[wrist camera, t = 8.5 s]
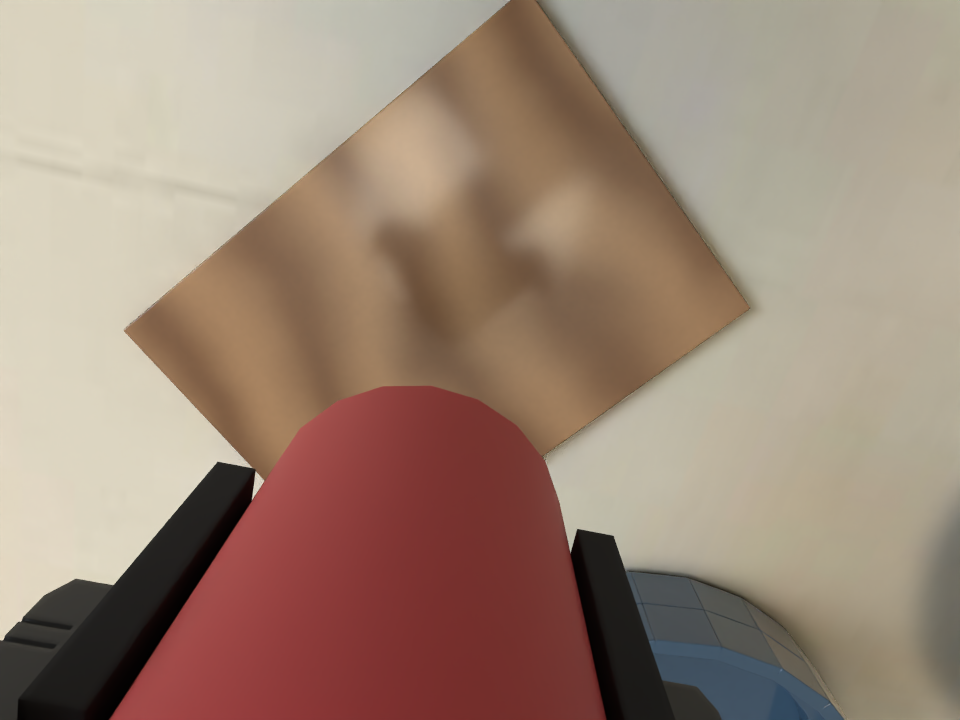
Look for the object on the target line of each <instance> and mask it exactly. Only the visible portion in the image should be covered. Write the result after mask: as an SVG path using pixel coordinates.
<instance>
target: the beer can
mask: <svg viewBox="0 0 960 720" xmlns="http://www.w3.org/2000/svg"><path fill="white" fill-rule="evenodd" d="M109 720H607V719H606V714H605V710H604V705H603V700H602V696H601V691H600V687H599V682H598V678H597V673H596V668H595V664H594V659H593V655H592V650H591V646H590V641H589V636H588V632H587V627H586V623H585V618H584V613H583V609H582V604H581V600H580V595H579V591H578V586H577V581H576V577H575V572H574V568H573V563H572V559H571V554H570V549H569V545H568V540H567V536H566V531H565V526H564V522H563V517H562V513H561V508H560V504H559V500H558V497H557V494H556V491H555V488H554V485H553V483H552V480H551V477H550V474H549V471H548V468H547V465H546V462H545V460H544V459H543V458H542V457H541V455H540V454H539V453H538V451H537V450H536V449H535V448H534V446H533V445H532V444H531V442H530V441H529V440H528V439H527V437H526V436H525V435H524V434H523V432H522V431H521V430H520V428H519V427H518V426H517V425H516V424H514V423H513V422H511V421H510V420H508V419H507V418H505V417H504V416H502V415H501V414H499V413H498V412H496V411H495V410H493V409H492V408H490V407H489V406H487V405H486V404H484V403H483V402H481V401H480V400H478V399H475V398H472V397H468V396H465V395H461V394H458V393H455V392H451V391H448V390H444V389H441V388H438V387H434V386H382V387H379V388H376V389H373V390H370V391H367V392H363V393H360V394H357V395H354V396H351V397H348V398H345V399H342V400H339V401H337V402H335V403H334V404H333V405H331V406H330V407H329V408H327V409H326V410H324V411H323V412H322V413H320V414H319V415H318V416H316V417H315V418H314V419H312V420H311V421H309V422H308V423H307V424H305V425H304V426H303V427H301V428H300V429H299V431H298V432H297V434H296V435H295V437H294V438H293V440H292V441H291V443H290V444H289V446H288V447H287V448H286V450H285V451H284V453H283V454H282V456H281V457H280V459H279V460H278V462H277V463H276V465H275V466H274V468H273V469H272V471H271V472H270V474H269V475H268V477H267V478H266V480H265V481H264V483H263V484H262V486H261V488H260V489H259V491H258V492H257V494H256V495H255V497H254V498H253V500H252V501H251V503H250V504H249V506H248V507H247V509H246V510H245V512H244V514H243V515H242V517H241V518H240V520H239V521H238V523H237V524H236V526H235V527H234V529H233V530H232V532H231V533H230V535H229V536H228V538H227V540H226V541H225V543H224V544H223V546H222V547H221V549H220V550H219V552H218V553H217V555H216V556H215V558H214V559H213V561H212V562H211V564H210V566H209V567H208V569H207V570H206V572H205V573H204V575H203V576H202V578H201V579H200V581H199V582H198V584H197V585H196V587H195V588H194V590H193V592H192V593H191V595H190V596H189V598H188V599H187V601H186V602H185V604H184V605H183V607H182V608H181V610H180V611H179V613H178V615H177V616H176V618H175V619H174V621H173V622H172V624H171V625H170V627H169V628H168V630H167V631H166V633H165V634H164V636H163V637H162V639H161V641H160V642H159V644H158V645H157V647H156V648H155V650H154V651H153V653H152V654H151V656H150V657H149V659H148V660H147V662H146V663H145V665H144V667H143V668H142V670H141V671H140V673H139V674H138V676H137V677H136V679H135V680H134V682H133V683H132V685H131V686H130V688H129V689H128V691H127V693H126V694H125V696H124V697H123V699H122V700H121V702H120V703H119V705H118V706H117V708H116V709H115V711H114V712H113V714H112V715H111V717H110V719H109Z"/></svg>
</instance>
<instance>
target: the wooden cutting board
mask: <svg viewBox="0 0 960 720" xmlns="http://www.w3.org/2000/svg"><path fill="white" fill-rule="evenodd" d="M749 309H750V307H749V305H748V304H747V302H746V301H745V300H744V298H743V297H742V295H741V294H740V292H739V291H738V290H737V288H736V287H735V285H734V284H733V282H732V281H731V280H730V278H729V277H728V275H727V274H726V272H725V271H724V269H723V268H722V267H721V265H720V264H719V262H718V261H717V259H716V258H715V257H714V255H713V254H712V252H711V251H710V249H709V248H708V247H707V245H706V244H705V242H704V241H703V239H702V238H701V236H700V235H699V234H698V232H697V231H696V229H695V228H694V226H693V225H692V224H691V222H690V221H689V219H688V218H687V216H686V215H685V213H684V212H683V211H682V209H681V208H680V206H679V205H678V203H677V202H676V201H675V199H674V198H673V196H672V195H671V193H670V192H669V191H668V189H667V188H666V186H665V185H664V183H663V182H662V180H661V179H660V178H659V176H658V175H657V173H656V172H655V170H654V169H653V168H652V166H651V165H650V163H649V162H648V160H647V159H646V158H645V156H644V155H643V153H642V152H641V150H640V149H639V147H638V146H637V145H636V143H635V142H634V140H633V139H632V137H631V136H630V135H629V133H628V132H627V130H626V129H625V127H624V126H623V124H622V123H621V122H620V120H619V119H618V117H617V116H616V114H615V113H614V112H613V110H612V109H611V107H610V106H609V104H608V103H607V102H606V100H605V99H604V97H603V96H602V94H601V93H600V91H599V90H598V89H597V87H596V86H595V84H594V83H593V81H592V80H591V79H590V77H589V76H588V74H587V73H586V71H585V70H584V69H583V67H582V66H581V64H580V63H579V61H578V60H577V58H576V57H575V56H574V54H573V53H572V51H571V50H570V48H569V47H568V46H567V44H566V43H565V41H564V40H563V38H562V37H561V35H560V34H559V33H558V31H557V30H556V28H555V27H554V25H553V24H552V23H551V21H550V20H549V18H548V17H547V15H546V14H545V13H544V11H543V10H542V8H541V7H540V5H539V4H538V2H537V1H536V0H511V1H509V2H508V3H507V4H506V5H505V6H504V7H502V8H501V9H500V10H499V11H498V12H497V13H495V14H494V15H493V16H492V17H491V18H490V19H488V20H487V21H486V22H485V23H484V24H482V25H481V26H480V27H479V28H478V29H477V30H475V31H474V32H473V33H472V34H471V35H470V36H468V37H467V38H466V39H465V40H464V41H462V42H461V43H460V44H459V45H458V46H457V47H455V48H454V49H453V50H452V51H451V52H450V53H448V54H447V55H446V56H445V57H444V58H442V59H441V60H440V61H439V62H438V63H437V64H435V65H434V66H433V67H432V68H431V69H430V70H428V71H427V72H426V73H425V74H424V75H422V76H421V77H420V78H419V79H418V80H417V81H415V82H414V83H413V84H412V85H411V86H410V87H408V88H407V89H406V90H405V91H404V92H402V93H401V94H400V95H399V96H398V97H397V98H395V99H394V100H393V101H392V102H391V103H390V104H388V105H387V106H386V107H385V108H384V109H382V110H381V111H380V112H379V113H378V114H377V115H375V116H374V117H373V118H372V119H371V120H370V121H368V122H367V123H366V124H365V125H364V126H363V127H361V128H360V129H359V130H358V131H357V132H355V133H354V134H353V135H352V136H351V137H350V138H348V139H347V140H346V141H345V142H344V143H343V144H341V145H340V146H339V147H338V148H337V149H335V150H334V151H333V152H332V153H331V154H330V155H328V156H327V157H326V158H325V159H324V160H323V161H321V162H320V163H319V164H318V165H317V166H315V167H314V168H313V169H312V170H311V171H310V172H308V173H307V174H306V175H305V176H304V177H303V178H301V179H300V180H299V181H298V182H297V183H295V184H294V185H293V186H292V187H291V188H290V189H288V190H287V191H286V192H285V193H284V194H283V195H281V196H280V197H279V198H278V199H277V200H275V201H274V202H273V203H272V204H271V205H270V206H268V207H267V208H266V209H265V210H264V211H263V212H261V213H260V214H259V215H258V216H257V217H255V218H254V219H253V220H252V221H251V222H250V223H248V224H247V225H246V226H245V227H244V228H243V229H241V230H240V231H239V232H238V233H237V234H236V235H234V236H233V237H232V238H231V239H230V240H228V241H227V242H226V243H225V244H224V245H223V246H221V247H220V248H219V249H218V250H217V251H216V252H214V253H213V254H212V255H211V256H210V257H208V258H207V259H206V260H205V261H204V262H203V263H201V264H200V265H199V266H198V267H197V268H196V269H194V270H193V271H192V272H191V273H190V274H188V275H187V276H186V277H185V278H184V279H183V280H181V281H180V282H179V283H178V284H177V285H176V286H174V287H173V288H172V289H171V290H170V291H168V292H167V293H166V294H165V295H164V296H163V297H161V298H160V299H159V300H158V301H157V302H156V303H154V304H153V305H152V306H151V307H150V308H148V309H147V310H146V311H145V312H144V313H143V314H141V315H140V316H139V317H138V318H137V319H136V320H134V321H133V322H132V323H131V324H130V325H129V326H127V327H126V328H125V329H124V332H125V333H126V334H127V335H128V336H129V337H130V338H131V339H132V340H133V341H134V342H135V343H136V344H137V345H138V346H139V347H140V349H141V350H142V351H143V352H144V353H145V354H146V355H147V356H148V357H149V358H150V359H151V360H152V361H153V362H154V363H155V364H156V366H157V367H158V368H159V369H160V370H161V371H162V372H163V373H164V374H165V375H166V376H167V377H168V378H169V379H170V380H171V382H172V383H173V384H174V385H175V386H176V387H177V388H178V389H179V390H180V391H181V392H182V393H183V394H184V395H185V396H186V397H187V399H188V400H189V401H190V402H191V403H192V404H193V405H194V406H195V407H196V408H197V409H198V410H199V411H200V412H201V413H202V414H203V416H204V417H205V418H206V419H207V420H208V421H209V422H210V423H211V424H212V425H213V426H214V427H215V428H216V429H217V430H218V431H219V433H220V434H221V435H222V436H223V437H224V438H225V439H226V440H227V441H228V442H229V443H230V444H231V445H232V446H233V447H234V448H235V450H236V451H237V452H238V453H239V454H240V455H241V456H242V457H243V458H244V459H245V460H246V461H247V462H248V463H249V464H250V465H251V467H252V468H253V469H256V472H257V473H258V474H259V475H260V476H261V477H262V478H263V479H264V480H266V478H267V477H268V475H269V474H270V472H271V471H272V469H273V468H274V466H275V465H276V463H277V462H278V460H279V459H280V457H281V456H282V454H283V453H284V451H285V450H286V448H287V447H288V446H289V444H290V443H291V441H292V440H293V438H294V437H295V435H296V434H297V432H298V431H299V429H300V428H301V427H303V426H304V425H305V424H307V423H308V422H309V421H311V420H312V419H314V418H315V417H316V416H318V415H319V414H320V413H322V412H323V411H324V410H326V409H327V408H329V407H330V406H331V405H333V404H334V403H335V402H337V401H339V400H342V399H345V398H348V397H351V396H354V395H357V394H360V393H363V392H367V391H370V390H373V389H376V388H379V387H382V386H434V387H438V388H441V389H444V390H448V391H451V392H455V393H458V394H461V395H465V396H468V397H472V398H475V399H478V400H480V401H481V402H483V403H484V404H486V405H487V406H489V407H490V408H492V409H493V410H495V411H496V412H498V413H499V414H501V415H502V416H504V417H505V418H507V419H508V420H510V421H511V422H513V423H514V424H516V425H517V426H518V427H519V428H520V430H521V431H522V432H523V434H524V435H525V436H526V437H527V439H528V440H529V441H530V442H531V444H532V445H533V446H534V448H535V449H536V450H537V451H538V453H539V454H540V455H541V457H542V456H544V455H545V454H547V453H548V452H549V451H551V450H552V449H554V448H555V447H556V446H558V445H559V444H561V443H562V442H563V441H565V440H566V439H568V438H569V437H570V436H572V435H573V434H575V433H576V432H577V431H579V430H580V429H582V428H583V427H584V426H586V425H587V424H589V423H590V422H591V421H593V420H594V419H596V418H597V417H598V416H600V415H601V414H603V413H604V412H606V411H607V410H608V409H610V408H611V407H613V406H614V405H615V404H617V403H618V402H620V401H621V400H622V399H624V398H625V397H627V396H628V395H629V394H631V393H632V392H634V391H635V390H636V389H638V388H639V387H641V386H642V385H643V384H645V383H646V382H648V381H649V380H650V379H652V378H653V377H655V376H656V375H657V374H659V373H660V372H662V371H663V370H665V369H666V368H667V367H669V366H670V365H672V364H673V363H674V362H676V361H677V360H679V359H680V358H681V357H683V356H684V355H686V354H687V353H688V352H690V351H691V350H693V349H694V348H695V347H697V346H698V345H700V344H701V343H702V342H704V341H705V340H707V339H708V338H709V337H711V336H712V335H714V334H715V333H716V332H718V331H719V330H721V329H722V328H724V327H725V326H726V325H728V324H729V323H731V322H732V321H733V320H735V319H736V318H738V317H739V316H740V315H742V314H743V313H745V312H746V311H747V310H749Z"/></svg>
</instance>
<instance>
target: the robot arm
mask: <svg viewBox="0 0 960 720" xmlns="http://www.w3.org/2000/svg"><path fill="white" fill-rule="evenodd" d="M255 471H256V469H253V468H248V467H242V466H237V465H232V464H226V463H221V462H217V463H216V465H215V466H214V467H213V468H212V469H211V470H210V472H209V473H208V474H207V475H206V476H205V478H204V479H203V480H202V481H201V482H200V483H199V485H198V486H197V487H196V488H195V489H194V491H193V492H192V493H191V494H190V495H189V497H188V498H187V499H186V500H185V501H184V502H183V504H182V505H181V506H180V507H179V508H178V510H177V511H176V512H175V513H174V514H173V516H172V517H171V518H170V519H169V520H168V521H167V523H166V524H165V525H164V526H163V527H162V529H161V530H160V531H159V532H158V533H157V535H156V536H155V537H154V538H153V539H152V540H151V542H150V543H149V544H148V545H147V546H146V548H145V549H144V550H143V551H142V552H141V554H140V555H139V556H138V557H137V558H136V559H135V561H134V562H133V563H132V564H131V565H130V567H129V568H128V569H127V570H126V571H125V573H124V574H123V575H122V576H121V577H120V578H119V580H118V581H117V582H116V583H115V584H114V585H108V584H103V583H97V582H91V581H86V580H80V579H75V580H73V581H71V582H69V583H67V584H65V585H63V586H61V587H59V588H58V589H56V590H54V591H52V592H50V593H48V594H46V595H44V596H43V597H42V598H41V599H40V600H39V601H38V602H37V603H36V605H35V606H34V607H33V608H32V609H31V610H30V611H29V612H28V613H27V614H26V615H25V616H24V617H23V619H22V621H21V622H18V623H17V624H16V625H15V626H14V627H13V628H12V629H11V630H10V631H9V632H8V633H7V634H6V635H5V638H4V640H3V641H1V640H0V720H109V719H110V717H111V715H112V714H113V712H114V711H115V709H116V708H117V706H118V705H119V703H120V702H121V700H122V699H123V697H124V696H125V694H126V693H127V691H128V689H129V688H130V686H131V685H132V683H133V682H134V680H135V679H136V677H137V676H138V674H139V673H140V671H141V670H142V668H143V667H144V665H145V663H146V662H147V660H148V659H149V657H150V656H151V654H152V653H153V651H154V650H155V648H156V647H157V645H158V644H159V642H160V641H161V639H162V637H163V636H164V634H165V633H166V631H167V630H168V628H169V627H170V625H171V624H172V622H173V621H174V619H175V618H176V616H177V615H178V613H179V611H180V610H181V608H182V607H183V605H184V604H185V602H186V601H187V599H188V598H189V596H190V595H191V593H192V592H193V590H194V588H195V587H196V585H197V584H198V582H199V581H200V579H201V578H202V576H203V575H204V573H205V572H206V570H207V569H208V567H209V566H210V564H211V562H212V561H213V559H214V558H215V556H216V555H217V553H218V552H219V550H220V549H221V547H222V546H223V544H224V543H225V541H226V540H227V538H228V536H229V535H230V533H231V532H232V530H233V529H234V527H235V526H236V524H237V523H238V521H239V520H240V518H241V517H242V515H243V514H244V512H245V510H246V509H247V507H248V506H249V504H250V503H251V501H252V494H253V486H254V479H255ZM571 559H572V563H573V568H574V572H575V577H576V581H577V586H578V591H579V595H580V600H581V604H582V609H583V613H584V618H585V623H586V627H587V632H588V636H589V641H590V646H591V650H592V655H593V659H594V664H595V668H596V673H597V678H598V682H599V687H600V691H601V696H602V700H603V705H604V710H605V714H606V719H607V720H722V719H721V716H720V714H719V712H718V710H717V709H716V708H715V707H714V706H713V705H712V703H711V702H710V701H709V700H708V699H707V698H706V696H705V695H704V694H703V693H702V692H701V691H700V690H699V688H698V687H697V686H691V685H686V684H680V683H674V682H669V681H663V680H662V678H661V675H660V672H659V669H658V666H657V664H656V661H655V658H654V655H653V652H652V649H651V646H650V643H649V640H648V637H647V634H646V631H645V628H644V625H643V622H642V619H641V616H640V613H639V610H638V607H637V604H636V601H635V598H634V595H633V592H632V589H631V587H630V584H629V581H628V578H627V575H626V572H625V569H624V566H623V563H622V560H621V557H620V554H619V551H618V548H617V545H616V542H615V539H614V536H611V535H606V534H601V533H595V532H590V531H585V530H579V529H577V532H576V536H575V539H574V543H573V547H572V551H571Z"/></svg>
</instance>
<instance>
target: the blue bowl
mask: <svg viewBox="0 0 960 720" xmlns="http://www.w3.org/2000/svg"><path fill="white" fill-rule="evenodd" d="M626 575H627V578H628V581H629V584H630V587H631V589H632V592H633V595H634V598H635V601H636V604H637V607H638V610H639V613H640V616H641V619H642V622H643V625H644V628H645V631H646V634H647V637H648V640H649V643H650V646H651V649H652V652H653V655H654V658H655V661H656V664H657V666H658V669H659V672H660V675H661V678H662V680H663V681H669V682H674V683H680V684H686V685H691V686H697V687H698V688H699V690H700V691H701V692H702V693H703V694H704V695H705V696H706V698H707V699H708V700H709V701H710V702H711V703H712V705H713V706H714V707H715V708H716V709H717V710H718V712H719V714H720V716H721V719H722V720H848V719H847V717H846V716H845V714H844V713H843V711H842V709H841V708H840V706H839V705H838V703H837V702H836V701H835V699H834V697H833V695H832V694H831V692H830V691H829V689H828V688H827V686H826V685H825V683H824V682H823V680H822V678H821V677H820V675H819V674H818V672H817V671H816V669H815V668H814V666H813V664H812V663H811V662H810V661H809V659H808V658H807V657H806V655H805V654H804V653H803V652H802V650H801V649H800V648H799V646H798V645H797V644H796V643H795V641H794V640H793V639H792V637H791V636H790V635H789V634H788V632H787V631H786V630H785V629H784V628H783V627H782V626H781V625H780V624H778V623H777V622H775V621H774V620H773V619H771V618H770V617H768V616H767V615H766V614H764V613H763V612H761V611H760V610H759V609H757V608H756V607H754V606H753V605H751V604H750V603H749V602H747V601H746V600H744V599H743V598H740V597H739V596H736V595H733V594H731V593H728V592H725V591H723V590H720V589H717V588H714V587H712V586H709V585H706V584H703V583H701V582H698V581H695V580H693V579H689V578H687V577H677V576H668V575H659V574H650V573H641V572H626Z"/></svg>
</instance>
